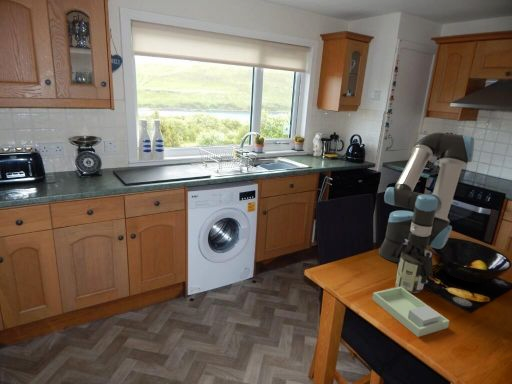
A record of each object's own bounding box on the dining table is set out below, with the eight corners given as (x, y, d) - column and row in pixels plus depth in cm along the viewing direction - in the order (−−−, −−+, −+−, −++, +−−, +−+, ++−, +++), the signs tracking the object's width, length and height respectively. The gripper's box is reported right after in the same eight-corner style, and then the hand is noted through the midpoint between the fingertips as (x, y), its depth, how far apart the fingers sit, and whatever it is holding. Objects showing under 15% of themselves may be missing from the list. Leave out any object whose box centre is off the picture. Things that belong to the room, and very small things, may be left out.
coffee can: (418, 282, 146) (424, 252, 142) (424, 295, 137) (431, 264, 133) (393, 278, 148) (398, 249, 144) (397, 291, 138) (404, 260, 134)
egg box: (423, 316, 123) (426, 305, 121) (437, 326, 117) (440, 315, 116) (407, 320, 120) (409, 310, 118) (420, 331, 114) (423, 320, 113)
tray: (399, 294, 137) (400, 286, 136) (447, 329, 117) (449, 320, 116) (371, 300, 131) (373, 292, 130) (417, 338, 112) (419, 329, 111)
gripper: (391, 223, 144) (382, 270, 150) (437, 246, 124) (424, 299, 130) (405, 222, 147) (395, 267, 153) (451, 244, 127) (438, 295, 133)
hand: (409, 282), depth 142 cm, fingers closed on coffee can, 10 cm apart
